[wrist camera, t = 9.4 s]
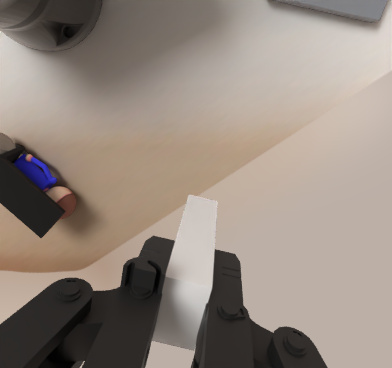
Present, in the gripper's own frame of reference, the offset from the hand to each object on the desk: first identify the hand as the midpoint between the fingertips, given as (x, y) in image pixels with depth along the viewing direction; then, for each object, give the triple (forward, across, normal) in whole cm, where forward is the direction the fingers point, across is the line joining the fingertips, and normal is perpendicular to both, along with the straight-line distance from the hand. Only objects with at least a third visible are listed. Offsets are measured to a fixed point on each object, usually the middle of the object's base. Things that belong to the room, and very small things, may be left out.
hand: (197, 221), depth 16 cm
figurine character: (+30, -25, -14) cm, 41 cm away
